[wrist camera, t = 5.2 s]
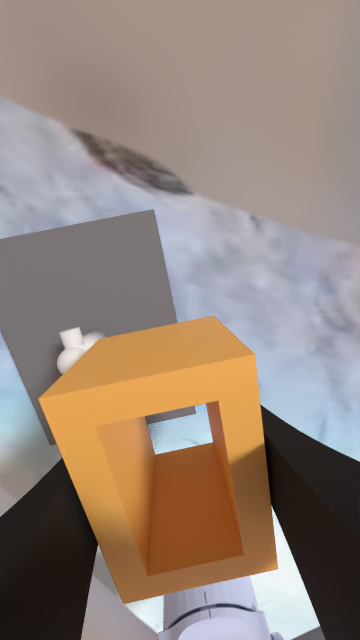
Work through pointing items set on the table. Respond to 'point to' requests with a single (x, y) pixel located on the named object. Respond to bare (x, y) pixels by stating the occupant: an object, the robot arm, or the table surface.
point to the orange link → (167, 457)
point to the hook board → (81, 296)
